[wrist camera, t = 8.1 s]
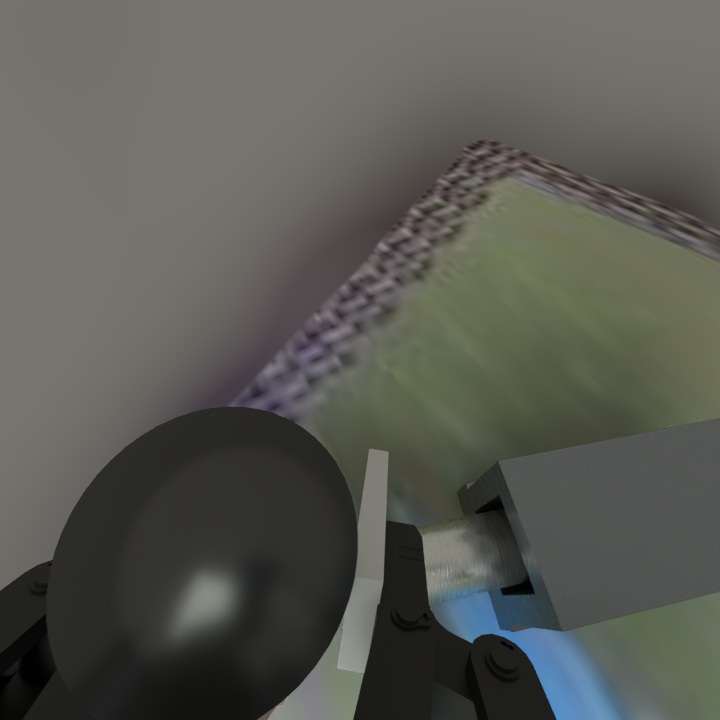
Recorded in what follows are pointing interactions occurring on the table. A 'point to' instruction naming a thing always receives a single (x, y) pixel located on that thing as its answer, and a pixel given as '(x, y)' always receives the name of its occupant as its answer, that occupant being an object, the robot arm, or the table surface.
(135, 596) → the l-shaped tool
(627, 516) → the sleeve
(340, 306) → the table surface
